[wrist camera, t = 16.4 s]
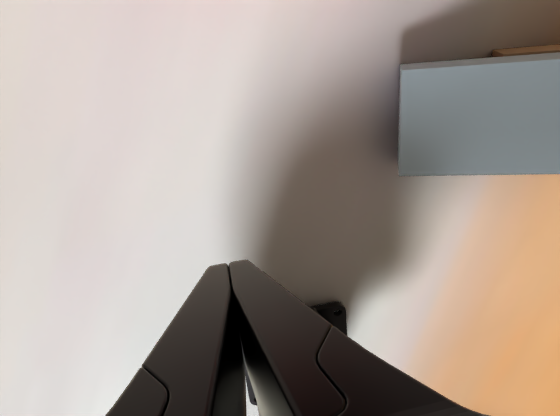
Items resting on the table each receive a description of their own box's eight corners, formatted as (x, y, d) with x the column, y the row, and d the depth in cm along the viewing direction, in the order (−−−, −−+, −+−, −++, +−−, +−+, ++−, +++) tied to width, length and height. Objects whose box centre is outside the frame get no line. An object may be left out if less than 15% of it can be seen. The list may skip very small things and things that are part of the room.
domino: (397, 162, 22) (556, 158, 21) (399, 176, 21) (572, 173, 19) (399, 63, 20) (577, 50, 18) (401, 70, 18) (597, 56, 17)
